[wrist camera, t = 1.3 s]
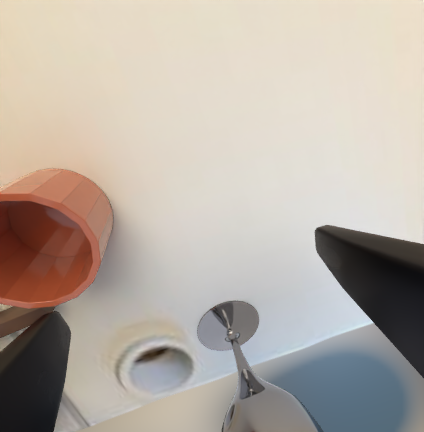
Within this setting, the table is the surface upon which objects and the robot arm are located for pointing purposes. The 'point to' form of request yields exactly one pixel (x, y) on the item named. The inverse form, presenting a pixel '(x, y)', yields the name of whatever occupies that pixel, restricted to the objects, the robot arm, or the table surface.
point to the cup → (51, 237)
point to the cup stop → (20, 318)
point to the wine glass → (251, 377)
